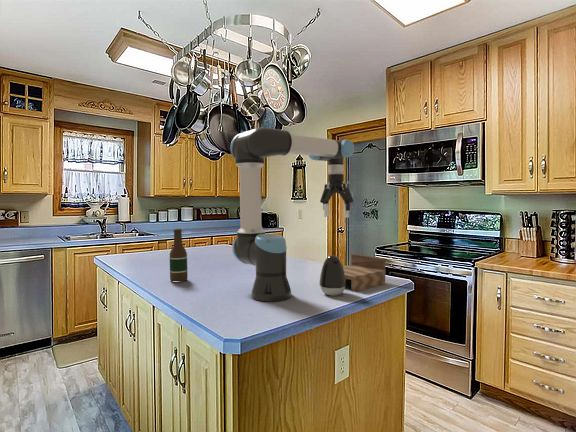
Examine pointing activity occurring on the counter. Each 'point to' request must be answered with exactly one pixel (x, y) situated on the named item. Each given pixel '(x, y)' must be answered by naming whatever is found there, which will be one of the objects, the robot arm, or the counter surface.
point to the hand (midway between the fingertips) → (336, 217)
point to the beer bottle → (178, 259)
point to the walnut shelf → (365, 272)
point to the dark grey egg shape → (332, 276)
